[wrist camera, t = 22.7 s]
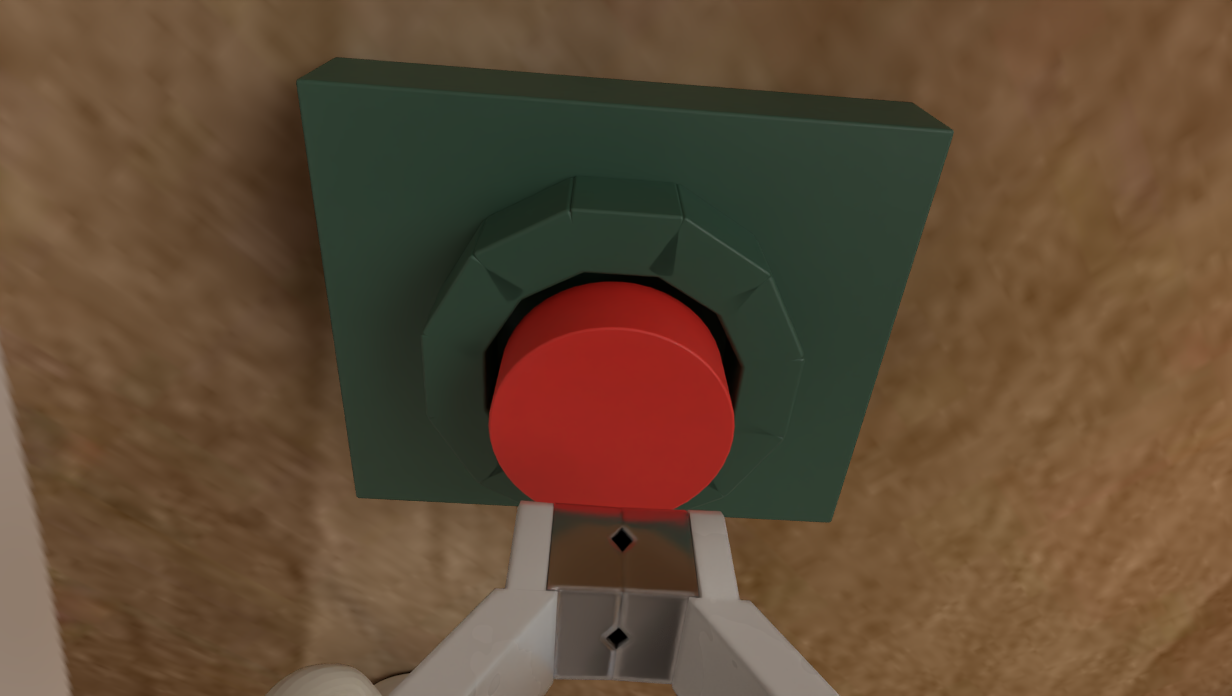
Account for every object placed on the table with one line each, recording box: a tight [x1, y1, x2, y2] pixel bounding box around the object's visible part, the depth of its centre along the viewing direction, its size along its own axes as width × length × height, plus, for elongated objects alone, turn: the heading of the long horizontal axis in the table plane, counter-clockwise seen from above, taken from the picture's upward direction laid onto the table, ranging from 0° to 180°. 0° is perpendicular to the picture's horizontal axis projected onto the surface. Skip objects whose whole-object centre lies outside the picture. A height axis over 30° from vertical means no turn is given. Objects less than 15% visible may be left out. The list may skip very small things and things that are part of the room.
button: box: [488, 282, 735, 509], centre depth 14 cm, size 4×4×2 cm
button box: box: [296, 57, 953, 522], centre depth 16 cm, size 12×10×4 cm
